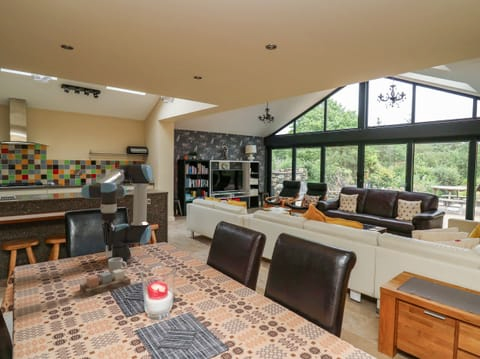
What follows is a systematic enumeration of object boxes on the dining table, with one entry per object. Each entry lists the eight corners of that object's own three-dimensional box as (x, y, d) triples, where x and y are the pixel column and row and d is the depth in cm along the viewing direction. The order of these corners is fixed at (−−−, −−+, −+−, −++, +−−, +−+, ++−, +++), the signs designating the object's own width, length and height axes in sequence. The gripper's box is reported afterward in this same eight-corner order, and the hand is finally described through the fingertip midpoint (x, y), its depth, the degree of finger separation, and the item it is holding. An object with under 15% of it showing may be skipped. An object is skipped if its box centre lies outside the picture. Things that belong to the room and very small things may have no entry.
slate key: (108, 280, 152) (108, 271, 152) (111, 282, 149) (111, 274, 149) (99, 282, 149) (99, 274, 149) (103, 285, 146) (103, 276, 146)
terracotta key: (95, 283, 147) (95, 275, 147) (98, 286, 144) (98, 277, 144) (86, 286, 144) (86, 277, 144) (89, 288, 141) (89, 279, 141)
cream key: (120, 276, 157) (120, 268, 156) (124, 279, 154) (124, 270, 153) (112, 279, 154) (112, 270, 153) (115, 281, 150) (115, 273, 150)
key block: (121, 278, 161) (121, 273, 160) (130, 284, 153) (130, 278, 153) (79, 290, 145) (79, 284, 145) (87, 297, 137) (87, 291, 137)
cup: (129, 270, 173) (129, 257, 172) (122, 275, 165) (122, 262, 165) (112, 269, 174) (112, 257, 174) (105, 274, 166) (105, 261, 166)
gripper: (96, 211, 150) (96, 255, 151) (106, 214, 141) (106, 261, 142) (111, 210, 156) (111, 252, 157) (121, 212, 147) (121, 258, 148)
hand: (108, 256), depth 149 cm, fingers closed
